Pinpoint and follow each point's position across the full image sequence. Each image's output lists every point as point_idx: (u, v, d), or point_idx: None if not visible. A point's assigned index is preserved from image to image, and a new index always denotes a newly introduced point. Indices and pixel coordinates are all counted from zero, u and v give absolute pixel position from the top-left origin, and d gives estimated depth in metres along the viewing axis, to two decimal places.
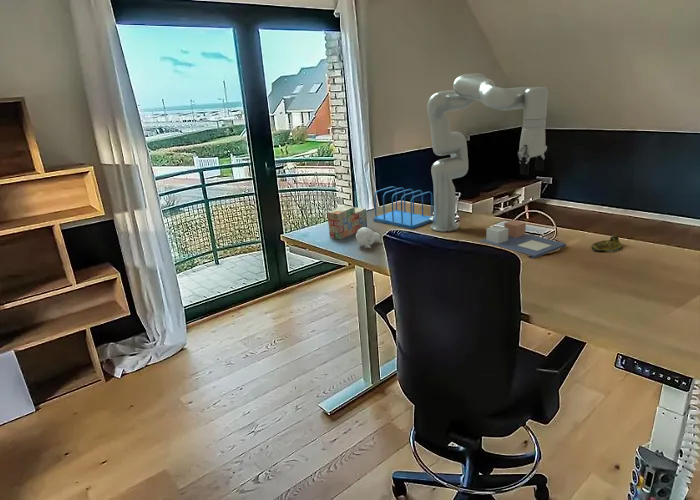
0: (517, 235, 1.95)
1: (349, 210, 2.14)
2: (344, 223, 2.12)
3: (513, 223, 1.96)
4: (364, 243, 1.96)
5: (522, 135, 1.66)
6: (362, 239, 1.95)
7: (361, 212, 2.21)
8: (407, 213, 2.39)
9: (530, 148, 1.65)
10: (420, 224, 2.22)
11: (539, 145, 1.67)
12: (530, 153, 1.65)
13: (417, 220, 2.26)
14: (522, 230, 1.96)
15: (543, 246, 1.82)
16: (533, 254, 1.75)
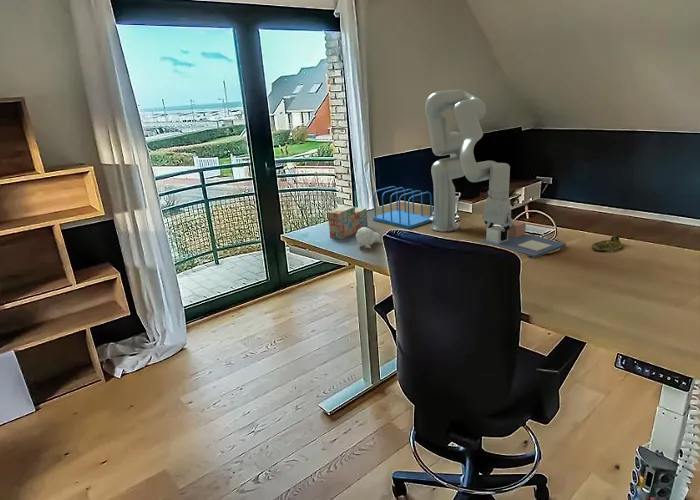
0: (517, 235, 1.95)
1: (349, 210, 2.14)
2: (345, 223, 2.13)
3: None
4: (364, 243, 1.96)
5: (505, 206, 1.83)
6: (362, 239, 1.95)
7: (361, 212, 2.22)
8: (407, 213, 2.39)
9: (510, 215, 1.86)
10: (418, 224, 2.22)
11: None
12: None
13: (416, 220, 2.26)
14: (522, 230, 1.96)
15: (543, 246, 1.82)
16: (533, 254, 1.75)
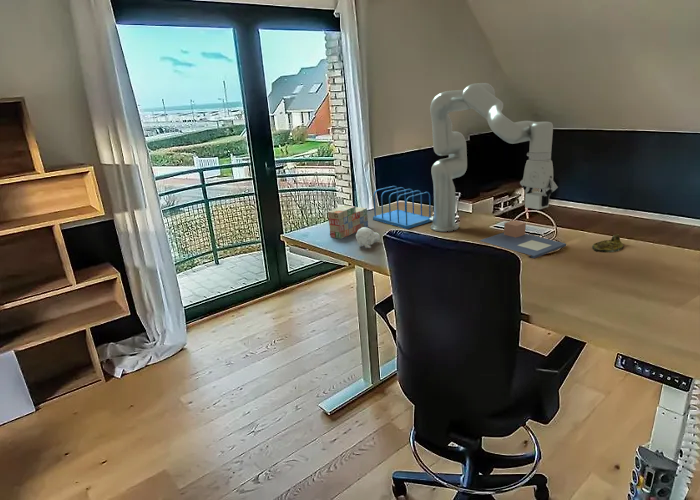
0: (517, 235, 1.95)
1: (350, 209, 2.14)
2: (345, 223, 2.13)
3: (513, 223, 1.96)
4: (364, 243, 1.96)
5: (548, 167, 1.70)
6: (362, 239, 1.95)
7: (362, 212, 2.22)
8: (407, 213, 2.39)
9: (552, 178, 1.73)
10: (416, 224, 2.22)
11: None
12: None
13: (414, 220, 2.26)
14: (522, 230, 1.96)
15: (543, 246, 1.82)
16: (533, 254, 1.75)
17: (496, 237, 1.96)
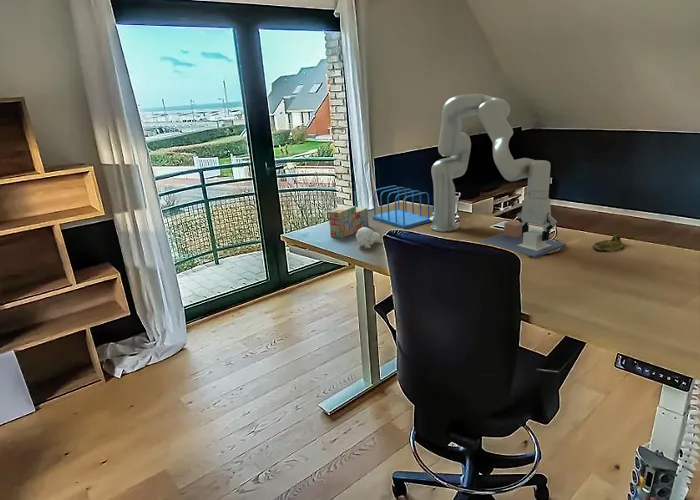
0: (517, 235, 1.95)
1: (350, 209, 2.15)
2: (345, 222, 2.14)
3: (513, 223, 1.96)
4: (364, 243, 1.96)
5: (545, 205, 1.74)
6: (362, 239, 1.95)
7: (362, 211, 2.22)
8: (407, 213, 2.39)
9: None
10: (414, 224, 2.23)
11: None
12: None
13: (413, 220, 2.26)
14: None
15: (543, 246, 1.82)
16: (533, 254, 1.75)
17: (496, 237, 1.96)
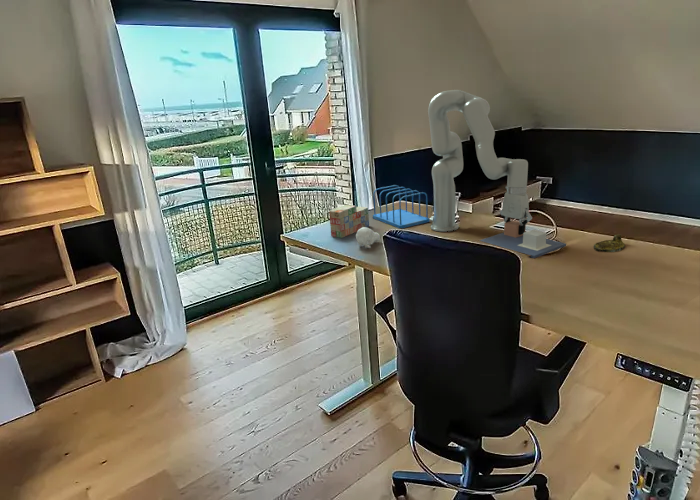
0: (517, 235, 1.95)
1: (350, 209, 2.15)
2: (346, 222, 2.14)
3: (513, 223, 1.96)
4: (364, 243, 1.96)
5: (523, 200, 1.89)
6: (362, 239, 1.95)
7: (363, 211, 2.23)
8: (407, 212, 2.40)
9: (528, 209, 1.92)
10: (411, 224, 2.23)
11: None
12: None
13: (410, 220, 2.27)
14: None
15: (543, 246, 1.82)
16: (533, 254, 1.75)
17: (496, 237, 1.96)
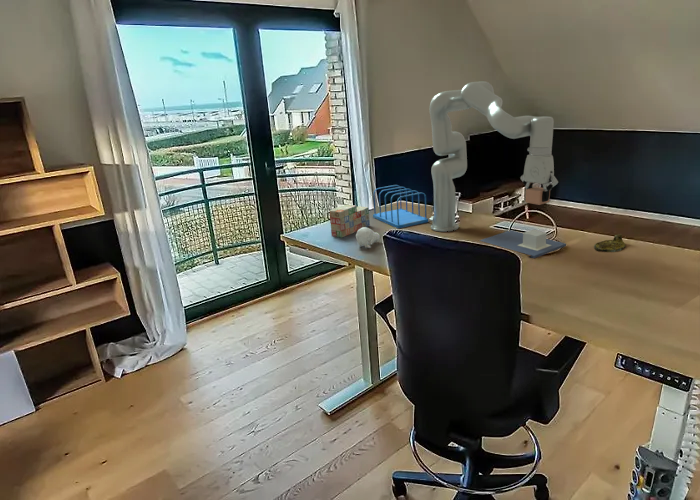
0: (541, 202, 1.75)
1: (351, 209, 2.16)
2: (346, 221, 2.15)
3: (536, 189, 1.77)
4: (364, 243, 1.96)
5: (548, 162, 1.69)
6: (362, 239, 1.95)
7: (363, 211, 2.23)
8: (407, 212, 2.40)
9: (553, 173, 1.72)
10: (409, 224, 2.23)
11: None
12: None
13: (409, 220, 2.27)
14: None
15: (543, 246, 1.82)
16: (533, 254, 1.75)
17: (496, 237, 1.96)
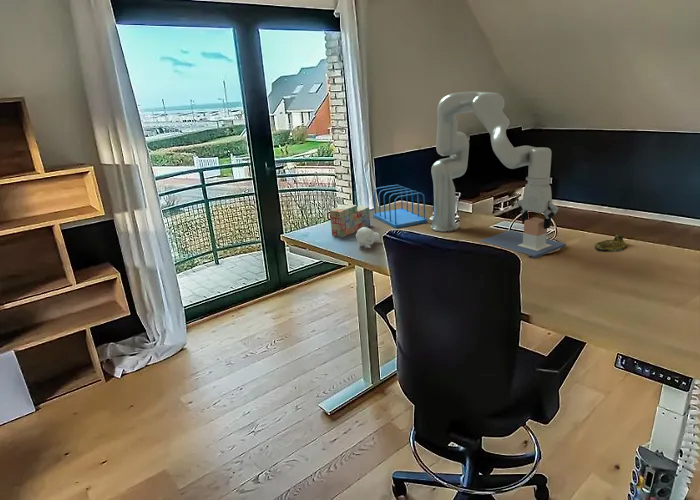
0: (538, 233, 1.79)
1: (351, 208, 2.16)
2: (346, 221, 2.15)
3: (534, 220, 1.81)
4: (364, 243, 1.96)
5: (546, 193, 1.73)
6: (362, 239, 1.95)
7: (364, 210, 2.24)
8: (407, 212, 2.40)
9: None
10: (406, 224, 2.24)
11: None
12: None
13: (407, 220, 2.27)
14: None
15: (543, 246, 1.82)
16: (533, 254, 1.75)
17: (496, 237, 1.96)
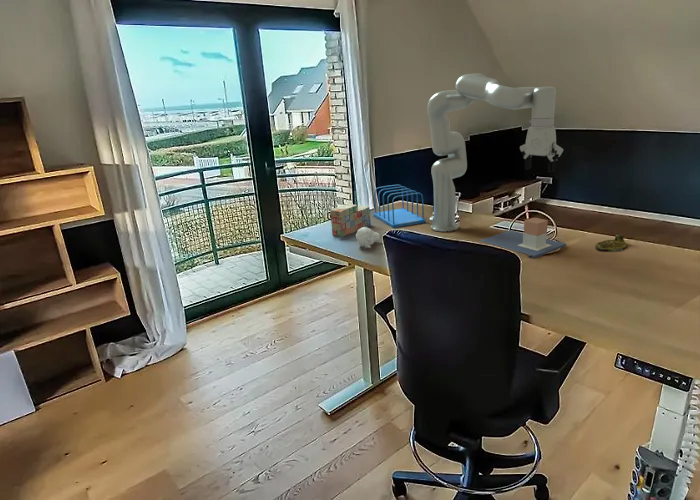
0: (538, 233, 1.79)
1: (352, 208, 2.17)
2: (347, 221, 2.16)
3: (534, 220, 1.81)
4: (364, 243, 1.96)
5: (550, 133, 1.66)
6: (362, 239, 1.95)
7: (364, 210, 2.24)
8: (408, 212, 2.40)
9: None
10: (404, 224, 2.24)
11: None
12: None
13: (406, 220, 2.28)
14: (544, 228, 1.80)
15: (543, 246, 1.82)
16: (533, 254, 1.75)
17: (496, 237, 1.96)
